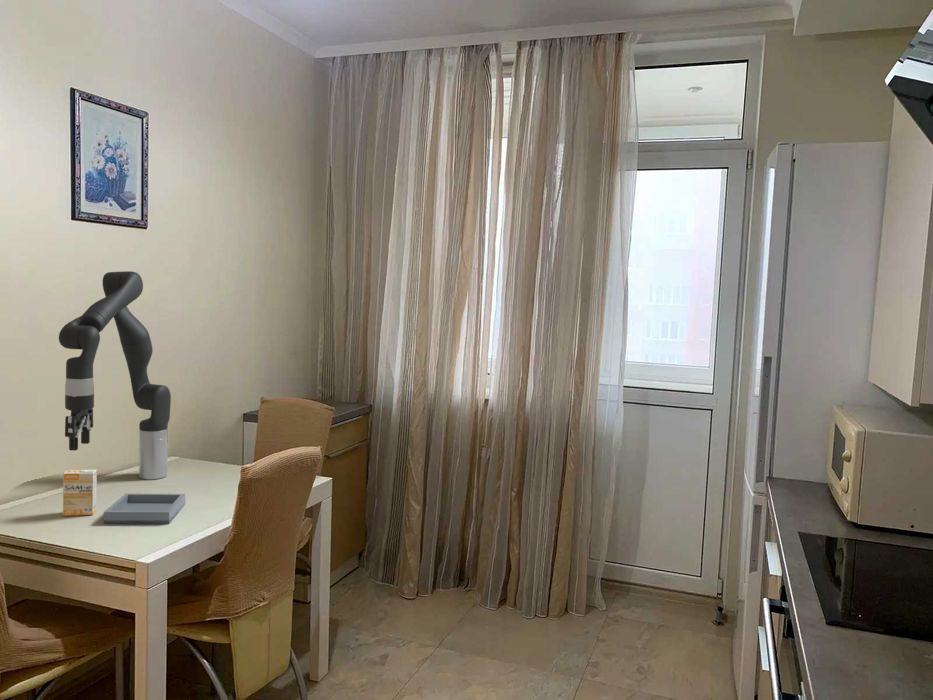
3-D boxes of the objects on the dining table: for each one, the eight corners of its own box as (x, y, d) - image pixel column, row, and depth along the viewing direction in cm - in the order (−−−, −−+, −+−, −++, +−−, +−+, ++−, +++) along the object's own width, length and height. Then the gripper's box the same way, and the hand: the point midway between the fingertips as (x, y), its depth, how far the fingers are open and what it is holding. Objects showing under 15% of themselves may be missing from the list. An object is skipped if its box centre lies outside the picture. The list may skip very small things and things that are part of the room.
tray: (125, 504, 223) (125, 493, 222) (185, 504, 225) (185, 493, 225) (104, 523, 205) (104, 512, 204) (169, 523, 207) (169, 512, 207)
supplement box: (62, 516, 209) (62, 473, 208) (66, 511, 213) (66, 469, 212) (93, 515, 211) (93, 472, 210) (97, 510, 216) (96, 468, 214)
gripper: (76, 388, 216) (76, 441, 217) (55, 396, 201) (55, 452, 203) (102, 389, 217) (102, 441, 218) (83, 397, 202) (83, 452, 204)
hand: (79, 446), depth 210 cm, fingers open, 8 cm apart
